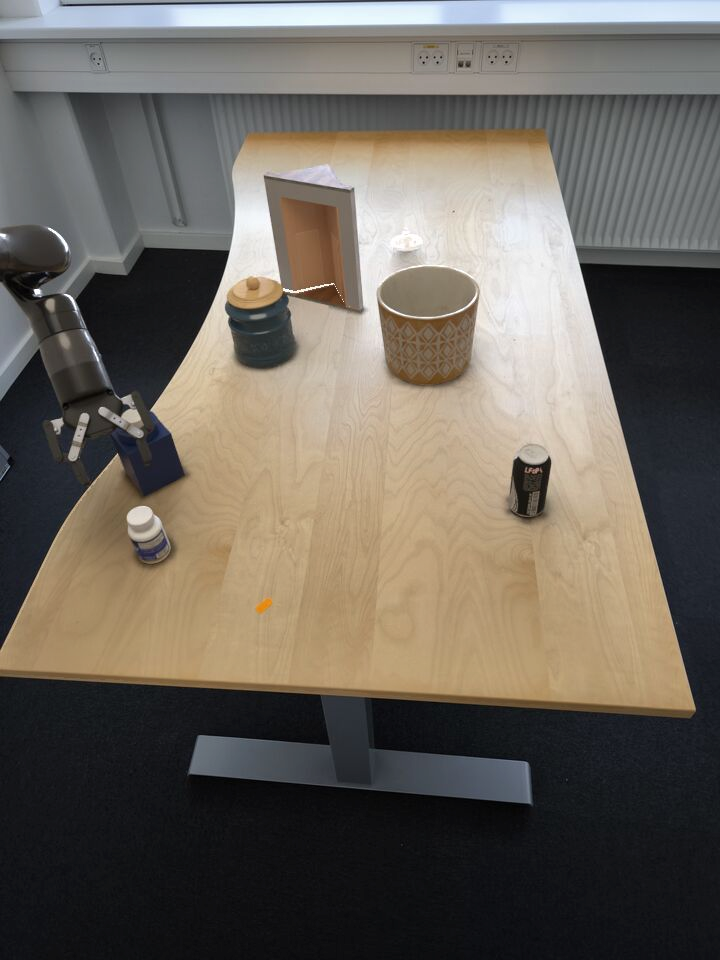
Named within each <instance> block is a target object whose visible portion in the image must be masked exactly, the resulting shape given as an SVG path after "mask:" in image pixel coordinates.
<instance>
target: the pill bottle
mask: <svg viewBox="0 0 720 960" xmlns="http://www.w3.org/2000/svg"><path fill="white" fill-rule="evenodd" d="M126 522H127V524H128V526H127V534H128V537H129V540H130V541H131V543H132V546H133V548H134V550H135V552H136V554H137V557H138V559H139V560H140V561H141V562H143V563H145V564H149V565H152V564H157V563H160V562H162V561H164V560H165V559H166V558H167V557H168V556H169V554H170V552H171V543H170V541H169V538H168V535H167V533H166V531H165V527H164V526H163V525H164V524H163V522H162V520H161V518H160V517H159V516H157V515H155V514H154V512H153V510H152V508H150V507H149V506H147V505H139V506H135V507H133V508H132V509H131V510H130V511H128V513H127V515H126Z"/></svg>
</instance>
